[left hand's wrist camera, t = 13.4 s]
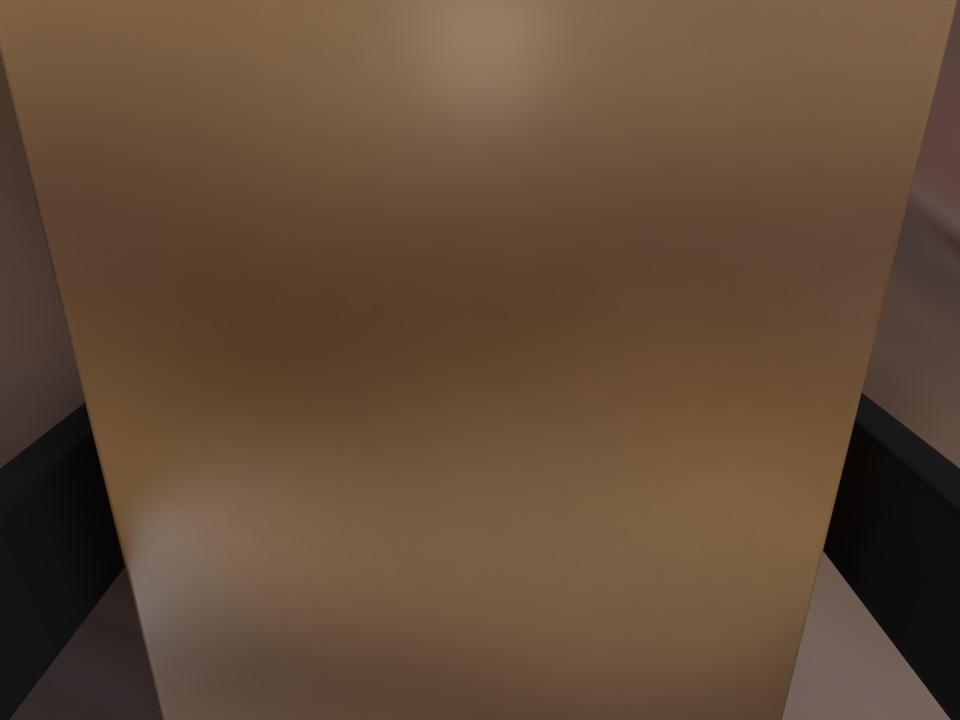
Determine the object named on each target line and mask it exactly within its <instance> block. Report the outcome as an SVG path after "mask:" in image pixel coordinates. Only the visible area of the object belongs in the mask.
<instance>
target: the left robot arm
mask: <svg viewBox="0 0 960 720" xmlns="http://www.w3.org/2000/svg"><path fill="white" fill-rule="evenodd" d="M823 551H824V552H825V554H826V555H827V556H828V558H829V559H830V560H831V562H832V563H833V564H834V566H835V567H836V568H837V570H838V571H839V572H840V574H841V575H842V576H843V578H844V579H845V580H846V582H847V583H848V584H849V585H850V587H851V588H852V589H853V591H854V592H855V593H856V595H857V596H858V597H859V599H860V600H861V601H862V603H863V604H864V605H865V607H866V608H867V609H868V611H869V612H870V613H871V615H872V616H873V617H874V619H875V620H876V621H877V623H878V624H879V625H880V627H881V628H882V629H883V631H884V632H885V633H886V634H887V636H888V637H889V638H890V640H891V641H892V642H893V644H894V645H895V646H896V648H897V649H898V650H899V652H900V653H901V654H902V656H903V657H904V658H905V660H906V661H907V662H908V664H909V665H910V666H911V668H912V669H913V670H914V672H915V673H916V674H917V676H918V677H919V678H920V679H921V681H922V682H923V683H924V685H925V686H926V687H927V689H928V690H929V691H930V693H931V694H932V695H933V697H934V698H935V699H936V701H937V702H938V703H939V705H940V706H941V707H942V709H943V710H944V711H945V713H946V714H947V715H948V717H949V718H950V719H951V720H960V468H958V467H957V466H956V465H954V464H953V463H952V462H951V461H949V460H948V459H947V458H945V457H944V456H943V455H942V454H940V453H939V452H938V451H936V450H935V449H934V448H933V447H931V446H930V445H929V444H927V443H926V442H925V441H924V440H922V439H921V438H920V437H918V436H917V435H916V434H915V433H913V432H912V431H911V430H909V429H908V428H907V427H906V426H904V425H903V424H902V423H900V422H899V421H898V420H897V419H895V418H894V417H893V416H891V415H890V414H889V413H887V412H886V411H885V410H884V409H882V408H881V407H880V406H878V405H877V404H876V403H875V402H873V401H872V400H871V399H869V398H868V397H867V396H866V395H864V394H863V393H861V397H860V401H859V405H858V409H857V413H856V417H855V421H854V425H853V429H852V434H851V438H850V442H849V446H848V450H847V454H846V458H845V462H844V466H843V470H842V475H841V479H840V483H839V487H838V491H837V495H836V499H835V503H834V507H833V511H832V515H831V520H830V524H829V528H828V532H827V536H826V540H825V544H824V548H823ZM124 567H125V564H124V559H123V555H122V551H121V547H120V543H119V539H118V535H117V531H116V527H115V523H114V518H113V514H112V510H111V506H110V502H109V498H108V494H107V490H106V486H105V481H104V477H103V473H102V469H101V465H100V461H99V457H98V453H97V449H96V444H95V440H94V436H93V432H92V428H91V424H90V420H89V416H88V412H87V408H86V403H84V404H83V405H82V406H80V407H79V408H78V409H76V410H75V411H74V412H72V413H71V414H70V415H69V416H67V417H66V418H65V419H63V420H62V421H61V422H60V423H58V424H57V425H56V426H54V427H53V428H52V429H51V430H49V431H48V432H47V433H45V434H44V435H43V436H42V437H40V438H39V439H38V440H36V441H35V442H34V443H33V444H31V445H30V446H29V447H27V448H26V449H25V450H24V451H22V452H21V453H20V454H18V455H17V456H16V457H15V458H13V459H12V460H11V461H9V462H8V463H7V464H6V465H4V466H3V467H2V468H0V720H9V719H10V718H11V717H12V715H13V714H14V713H15V711H16V710H17V709H18V707H19V706H20V705H21V703H22V702H23V701H24V699H25V698H26V697H27V695H28V694H29V693H30V691H31V690H32V689H33V687H34V686H35V685H36V683H37V682H38V681H39V679H40V678H41V677H42V676H43V674H44V673H45V672H46V670H47V669H48V668H49V666H50V665H51V664H52V662H53V661H54V660H55V658H56V657H57V656H58V654H59V653H60V652H61V650H62V649H63V648H64V646H65V645H66V644H67V642H68V641H69V640H70V638H71V637H72V636H73V634H74V633H75V632H76V630H77V629H78V628H79V627H80V625H81V624H82V623H83V621H84V620H85V619H86V617H87V616H88V615H89V613H90V612H91V611H92V609H93V608H94V607H95V605H96V604H97V603H98V601H99V600H100V599H101V597H102V596H103V595H104V593H105V592H106V591H107V589H108V588H109V587H110V585H111V584H112V583H113V581H114V580H115V579H116V578H117V576H118V575H119V574H120V572H121V571H122V570H123V568H124Z"/></svg>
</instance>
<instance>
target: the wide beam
mask: <svg viewBox="0 0 960 720" xmlns="http://www.w3.org/2000/svg"><path fill="white" fill-rule="evenodd" d="M956 4H957V0H0V54H1V58H2V63H3V67H4V71H5V75H6V79H7V83H8V87H9V91H10V95H11V99H12V104H13V108H14V112H15V116H16V120H17V124H18V128H19V132H20V136H21V141H22V145H23V149H24V153H25V157H26V161H27V165H28V169H29V173H30V178H31V182H32V186H33V190H34V194H35V198H36V202H37V206H38V210H39V214H40V219H41V223H42V227H43V231H44V235H45V239H46V243H47V247H48V251H49V256H50V260H51V264H52V268H53V272H54V276H55V280H56V284H57V288H58V293H59V297H60V301H61V305H62V309H63V313H64V317H65V321H66V325H67V329H68V334H69V338H70V342H71V346H72V350H73V354H74V358H75V362H76V366H77V371H78V375H79V379H80V383H81V387H82V391H83V395H84V399H85V403H86V408H87V412H88V416H89V420H90V424H91V428H92V432H93V436H94V440H95V444H96V449H97V453H98V457H99V461H100V465H101V469H102V473H103V477H104V481H105V486H106V490H107V494H108V498H109V502H110V506H111V510H112V514H113V518H114V523H115V527H116V531H117V535H118V539H119V543H120V547H121V551H122V555H123V559H124V564H125V568H126V572H127V576H128V580H129V584H130V588H131V592H132V596H133V601H134V605H135V609H136V613H137V617H138V621H139V625H140V629H141V633H142V637H143V642H144V646H145V650H146V654H147V658H148V662H149V666H150V670H151V674H152V679H153V683H154V687H155V691H156V695H157V699H158V703H159V707H160V711H161V716H162V720H782V716H783V712H784V708H785V704H786V700H787V696H788V691H789V687H790V683H791V679H792V675H793V671H794V667H795V663H796V659H797V655H798V651H799V646H800V642H801V638H802V634H803V630H804V626H805V622H806V618H807V614H808V610H809V605H810V601H811V597H812V593H813V589H814V585H815V581H816V577H817V573H818V569H819V565H820V560H821V556H822V552H823V548H824V544H825V540H826V536H827V532H828V528H829V524H830V520H831V515H832V511H833V507H834V503H835V499H836V495H837V491H838V487H839V483H840V479H841V475H842V470H843V466H844V462H845V458H846V454H847V450H848V446H849V442H850V438H851V434H852V429H853V425H854V421H855V417H856V413H857V409H858V405H859V401H860V397H861V393H862V389H863V384H864V380H865V376H866V372H867V368H868V364H869V360H870V356H871V352H872V348H873V344H874V339H875V335H876V331H877V327H878V323H879V319H880V315H881V311H882V307H883V303H884V299H885V294H886V290H887V286H888V282H889V278H890V274H891V270H892V266H893V262H894V258H895V253H896V249H897V245H898V241H899V237H900V233H901V229H902V225H903V221H904V217H905V213H906V208H907V204H908V200H909V196H910V192H911V188H912V184H913V180H914V176H915V172H916V168H917V163H918V159H919V155H920V151H921V147H922V143H923V139H924V135H925V131H926V127H927V122H928V118H929V114H930V110H931V106H932V102H933V98H934V94H935V90H936V86H937V82H938V77H939V73H940V69H941V65H942V61H943V57H944V53H945V49H946V45H947V41H948V37H949V32H950V28H951V24H952V20H953V16H954V12H955V8H956Z"/></svg>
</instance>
